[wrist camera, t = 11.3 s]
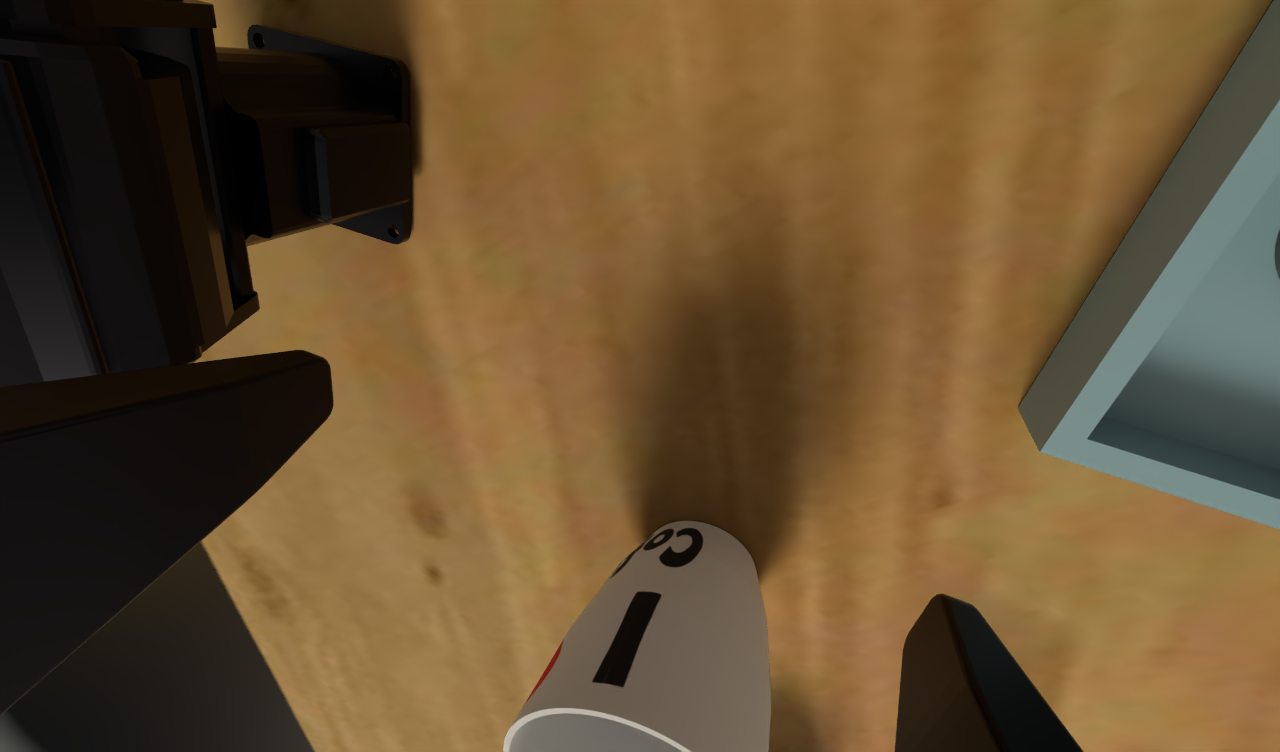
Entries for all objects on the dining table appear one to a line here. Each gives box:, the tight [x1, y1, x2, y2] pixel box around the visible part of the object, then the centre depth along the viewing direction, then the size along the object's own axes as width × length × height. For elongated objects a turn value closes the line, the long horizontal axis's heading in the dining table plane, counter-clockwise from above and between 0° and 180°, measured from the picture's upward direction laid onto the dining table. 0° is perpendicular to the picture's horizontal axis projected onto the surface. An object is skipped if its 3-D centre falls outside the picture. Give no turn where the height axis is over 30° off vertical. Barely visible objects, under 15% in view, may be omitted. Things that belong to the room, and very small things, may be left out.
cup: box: [503, 521, 771, 752], centre depth 21 cm, size 8×8×10 cm
